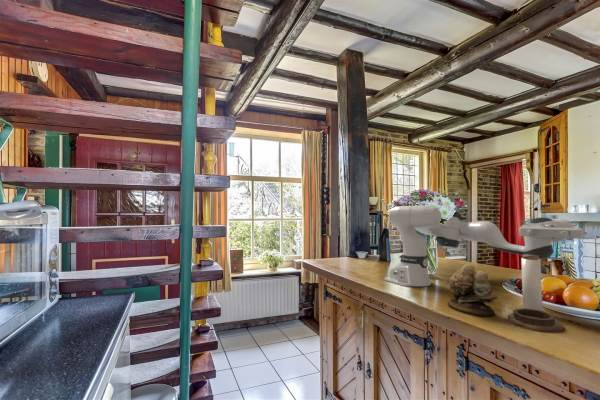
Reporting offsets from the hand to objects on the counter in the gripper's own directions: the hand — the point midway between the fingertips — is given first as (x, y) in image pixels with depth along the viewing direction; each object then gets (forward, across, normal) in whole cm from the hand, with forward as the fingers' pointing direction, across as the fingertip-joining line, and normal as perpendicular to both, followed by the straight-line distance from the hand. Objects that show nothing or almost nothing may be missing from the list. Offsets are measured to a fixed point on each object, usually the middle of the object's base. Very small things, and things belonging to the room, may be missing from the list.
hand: (544, 233), depth 118 cm
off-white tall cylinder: (+17, 0, -27) cm, 32 cm away
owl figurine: (+31, +15, -27) cm, 43 cm away
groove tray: (+29, -4, -26) cm, 40 cm away
